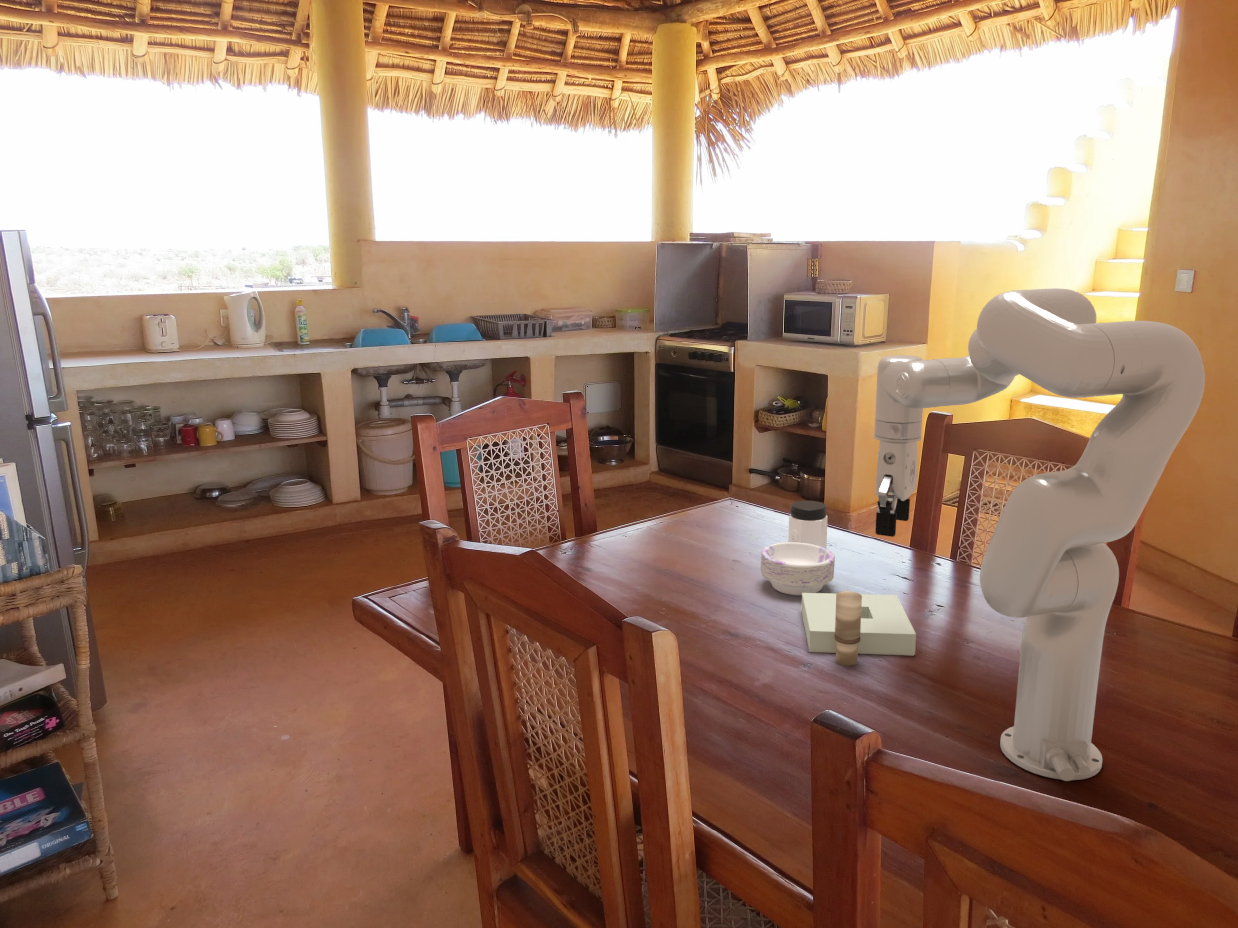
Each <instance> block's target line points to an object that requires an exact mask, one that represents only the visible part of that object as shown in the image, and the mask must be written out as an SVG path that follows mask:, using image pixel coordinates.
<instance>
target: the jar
mask: <svg viewBox="0 0 1238 928" xmlns="http://www.w3.org/2000/svg"><path fill="white" fill-rule="evenodd" d="M789 513H790V515H789V516H788V538H787V539H788V542H798V543H807V544H813V545H817V546H820V547H823V548H825V549H827V547H828V545H827V544H828V520H829V519H828V515H827V505H826V503H824V502H821V501H818V500H817V501H816V500H797V501H794V502H792V503H791V504H790V512H789Z"/></svg>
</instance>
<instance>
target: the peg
mask: <svg viewBox="0 0 1238 928" xmlns="http://www.w3.org/2000/svg"><path fill="white" fill-rule="evenodd" d="M835 594H836V616H835V635H834V639H835V640H836V653H835V662H836V663H837V664H839V665H841V666H847V667H850V666H851V667H852V666H855V665H857V663H858V655H859V654H858V643H859V642H860V629H861V606H862V596H861V595H860V593H858V592H856V591H851V590H850V591H849V590H844V591H843V590H842V591H839V592H837V593H835Z"/></svg>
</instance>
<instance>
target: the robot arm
mask: <svg viewBox="0 0 1238 928" xmlns="http://www.w3.org/2000/svg"><path fill="white" fill-rule="evenodd" d="M968 340H969V341H968V344H967V351H968V355H965V356H961V357H947V358H934V359H933V358H932V359H922V358H921V357H919V356H915V355H905V354H904V355H903V354H902V355H901V354H898V355H887V356H884V357H882V358H880V360H879V361H878V364H877V373H876V392H875V413H874V414H875V415H874V416H875V417H874V432H873V433H874V434H873V435H874V436H873V438H874V439H875V440H877V441H879V445H878V452H877V463H876V474H875V475H876V476H875V495H876V496H877V497H878V501H876V502H877V506H876V514H875V515H876V516H875V530H874V531H875V535H876V536H885V537H895V536H896V533H897V531H896V530H897V529H896V528H897V521H901V522H902V521H903V522H908V521H909V520H910V506H911V505H910V504H911V498H910V496H911V495H913V493H914V492H915V491H916V489H917V486H918V485H917V482H918V481H917V480H918V479H917V478H918V442H919V441H920V442H921V440H922V427H923V413H924V409H931V408H939V407H950V406H960V405H961V406H962V405H963V406H964V405H968V404H973V403H976V402H978V401H982V400H984V399H987V398H989V397H991V396H994V395H996V394H999V393H1000V392H1003V391H1004V390H1006V389H1007V388H1008V387H1009V386H1010V385H1011V384H1012V383H1013V381H1014V380H1015V378H1016V377H1017V376H1020V375H1021V376H1022V377H1023V378H1026V379H1028V380H1029V381H1031V382H1033V383H1034V384H1036V385H1037V386H1039V387H1040V388H1042V389H1044V390H1046V391H1048V392H1050V393H1052V394H1054V395H1057V396H1060V397H1064V398H1071V399H1072V398H1073V399H1081V398H1082V399H1085V398H1095V397H1103V396H1115V395H1122V397H1121V399H1120V400H1119V402H1117V404H1116V405H1115V406H1114V407H1113V408H1111V410H1110V411H1109V412H1108V413H1107V414H1106V415H1105V416H1104V417H1103V418H1102V419H1101V420H1100V421H1099V422H1098V424H1097V425H1096V427H1095V428H1094V430H1093V431H1092V433H1091V435H1090V436H1089V440H1088V442H1087V444H1086V447H1085V449H1084V450H1083V453H1082V455H1081V456H1080V458H1079V460H1078V461H1077V462H1076V464H1074V465H1072V467H1069V468H1068V469H1063V470H1058V471H1050V472H1043V473H1038V474H1035V475H1032V476H1030V477H1028V478H1026V479H1024V480H1023V481H1021V483H1019V484H1018V485H1017V486H1016V487H1015V488H1014V489H1013V491H1012V492H1011V493H1010V494H1009V496H1008V498H1007V500H1006V502H1005V504H1004V507H1003V509H1002V511H1001V514H1000V516H999V519H998V521H997V523H996V526H995V528H994V530H993V533H992V536H991V538H990V541H989V542H988V545H987V548H986V550H985V553H984V556H983V559H982V561H981V566H980V573H979V584H980V590H981V592H982V596H983V599H984V600H985V601H986V603H987V604H988V606H989V607H990V608H991V609H992V610H994V611H995V612H996V613H998V614H1000V615H1003V616H1004V617H1009V618H1015V619H1017V618H1019V619H1020V618H1026V619H1025V622H1024V625H1023V629H1022V635H1021V644H1020V645H1021V646H1020V653H1019V654H1020V655H1019V664H1018V665H1019V667H1018V678H1017V679H1018V680H1017V688H1016V689H1017V690H1016V698H1015V699H1016V700H1015V701H1016V702H1015V711H1014V721H1013V723H1014V724H1013V726H1011V727H1008V728H1007V729H1005V730H1004V731H1003V732H1002V733H1001V735H1000V739H999V741H1000V742H999V743H1000V746H999V747H1000V749H1001V752H1002V753H1003V754H1004V756H1005V757H1006V758H1007V759H1009V760H1010V762H1012V763H1014V764H1015V765H1016V766H1018V767H1020V768H1021V769H1024V770H1025V771H1027V772H1030V773H1032V774H1036V775H1037V776H1041V777H1045V778H1049V779H1054V780H1062V781H1064V782H1070V781H1079V780H1081V781H1082V780H1085V779H1089V778H1093V776H1096V775H1097V774H1098V773H1099V772H1101V769H1102V767H1103V755H1102V753H1101V751H1100V750H1099V749H1098V747H1096V746H1095V744H1093V743H1092V739H1093V738H1092V737H1093V728H1094V727H1093V726H1094V721H1095V720H1094V719H1095V711H1096V704H1097V703H1096V701H1097V693H1098V684H1099V677H1100V676H1099V674H1100V668H1101V667H1100V666H1101V659H1102V651H1103V644H1104V637H1105V631H1106V624H1107V621H1108V618H1109V614H1110V611H1111V608H1112V605H1113V602H1114V600H1115V598H1116V593H1117V590H1118V586H1119V581H1120V580H1119V577H1120V567H1119V563H1118V560H1117V558H1116V556H1115V554H1114V552H1113V551H1112V549H1110V547H1109V546H1108V545H1107V544H1106V543H1110V542H1114V541H1117V540H1119V539H1122V538H1124V537H1126V536H1127V535H1128V534H1129V533H1130V532H1131V531H1133V529H1134V527H1135V526H1136V525H1137V523H1138V520H1139V519H1140V517H1141V515H1142V513H1143V511H1144V509H1145V507H1146V505H1147V504H1148V501H1149V500H1150V497H1151V496H1152V494H1153V492H1154V490H1155V488H1156V486H1157V485H1158V482H1159V481H1160V478H1161V477H1162V474H1163V473H1164V470H1165V468H1166V466H1167V464H1168V462H1169V460H1170V458H1171V457H1172V454H1173V453H1174V451H1175V449H1176V447H1177V446H1178V444H1179V442H1180V441H1181V440H1182V437H1183V436H1184V434H1185V432H1187V430H1188V428H1189V427H1190V425H1191V423H1192V421H1193V419H1194V417H1195V415H1196V414H1197V411H1198V409H1199V408H1200V405H1201V404H1202V403H1201V402H1202V400H1203V399H1202V398H1203V396H1204V392H1205V390H1204V389H1205V384H1206V372H1205V367H1204V366H1205V365H1204V362H1203V358H1202V355H1201V353H1200V349H1198V347H1197V345H1196V343H1195V342H1194V340H1193V339H1192V338H1191V337H1190V336H1189V335H1188V334H1187V333H1186V332H1184V331H1183V330H1181V329H1180V328H1178V327H1176V326H1174V325H1171V324H1168V323H1165V322H1159V321H1151V320H1128V321H1127V320H1125V321H1124V320H1123V321H1111V322H1097V313H1096V309H1095V307H1094V305H1093V304H1092V302H1091V301H1090V299H1088V298H1087V297H1086V296H1085V295H1083V294H1081V293H1080V292H1078V291H1075V290H1071V289H1068V288H1036V289H1015V290H1008V291H1004V292H1002V293H999V294H997V295H996V296H994V297H993V298H991V299H990V300H989V301H988V302H987V303H986V304H985V305H984V306H983V308H982V309H981V311H980V312H979V316H978V319H977V324H976V329H975V330H974V331H973V332H972V334H971V335H970V337H969V339H968Z"/></svg>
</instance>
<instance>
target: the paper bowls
mask: <svg viewBox="0 0 1238 928" xmlns="http://www.w3.org/2000/svg"><path fill="white" fill-rule="evenodd" d="M835 559H836V557H835V555H834V553H833V552H832V551H831V550H829V549H825V548H823V547H820V546H817V545H813V544H807V543H798V542H787V541H786V542H784V541H783V542H778V543H772V544H769V545H767V546H765V547H764V548H763V549H762V551H761V552H760V574H761V575H762V577H763V578H764V579H766V580H767V581H769V583H770V584H771V586H772V587H773V589H775V590H776V591H778V592H780V593H781V594H782V593H783V594H786V595H790V596H797V597H798V596H801V597H802V593H819V592H820V591H821V590H822V589H823V587H824V586H825V585H828V584H829V583H830V582H832V581H833V580H834V576H835V561H836V560H835Z"/></svg>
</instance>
